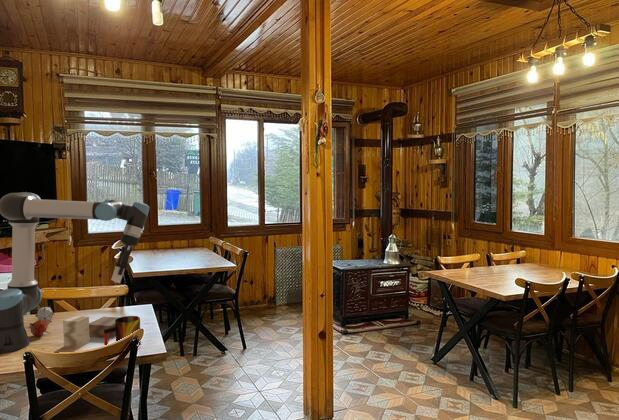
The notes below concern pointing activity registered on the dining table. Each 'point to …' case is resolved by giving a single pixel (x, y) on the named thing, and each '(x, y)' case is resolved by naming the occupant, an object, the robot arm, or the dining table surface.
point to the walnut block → (102, 327)
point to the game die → (45, 314)
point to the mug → (123, 327)
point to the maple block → (76, 331)
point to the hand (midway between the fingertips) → (115, 281)
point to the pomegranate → (39, 327)
